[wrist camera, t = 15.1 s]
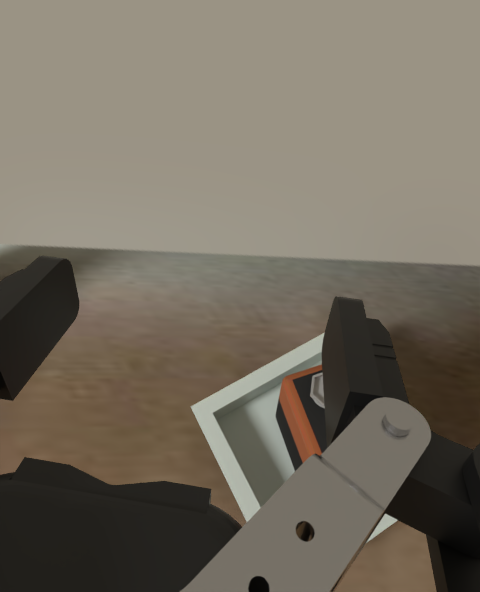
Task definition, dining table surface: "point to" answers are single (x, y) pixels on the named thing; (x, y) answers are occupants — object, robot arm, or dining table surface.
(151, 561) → the robot arm
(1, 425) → the dining table surface
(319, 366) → the battery
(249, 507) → the cart
